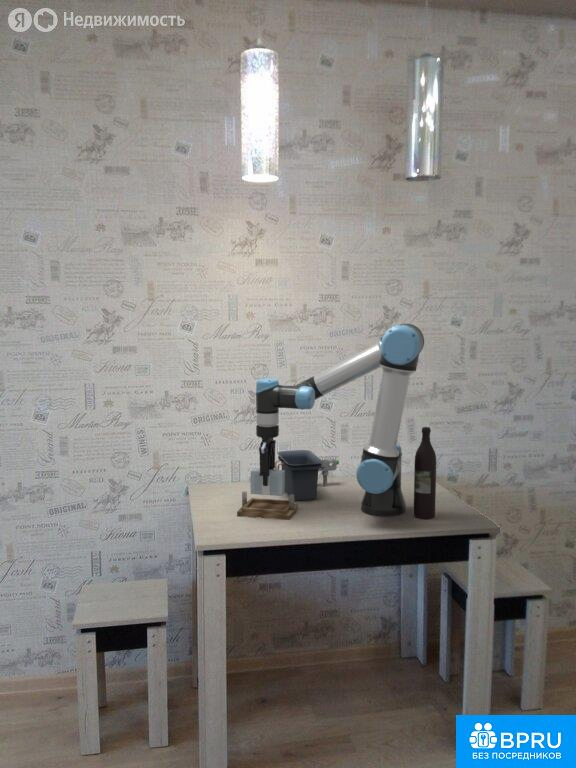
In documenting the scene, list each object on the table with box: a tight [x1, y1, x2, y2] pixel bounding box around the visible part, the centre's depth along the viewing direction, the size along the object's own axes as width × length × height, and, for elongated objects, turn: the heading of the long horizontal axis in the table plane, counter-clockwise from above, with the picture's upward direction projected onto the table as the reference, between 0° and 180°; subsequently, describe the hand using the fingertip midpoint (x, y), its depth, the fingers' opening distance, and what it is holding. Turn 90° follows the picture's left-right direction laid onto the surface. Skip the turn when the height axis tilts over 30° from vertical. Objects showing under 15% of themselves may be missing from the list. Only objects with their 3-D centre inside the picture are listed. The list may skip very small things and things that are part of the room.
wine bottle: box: [413, 426, 437, 520], centre depth 248 cm, size 7×7×30 cm
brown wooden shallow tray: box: [236, 491, 299, 521], centre depth 255 cm, size 18×13×6 cm
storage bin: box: [275, 449, 323, 502], centre depth 275 cm, size 21×16×14 cm
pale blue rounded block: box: [250, 468, 286, 497], centre depth 254 cm, size 11×4×8 cm, turn 77°
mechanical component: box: [318, 458, 340, 487], centre depth 287 cm, size 3×10×10 cm, turn 100°
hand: (267, 492), depth 254 cm, fingers closed on pale blue rounded block, 4 cm apart
